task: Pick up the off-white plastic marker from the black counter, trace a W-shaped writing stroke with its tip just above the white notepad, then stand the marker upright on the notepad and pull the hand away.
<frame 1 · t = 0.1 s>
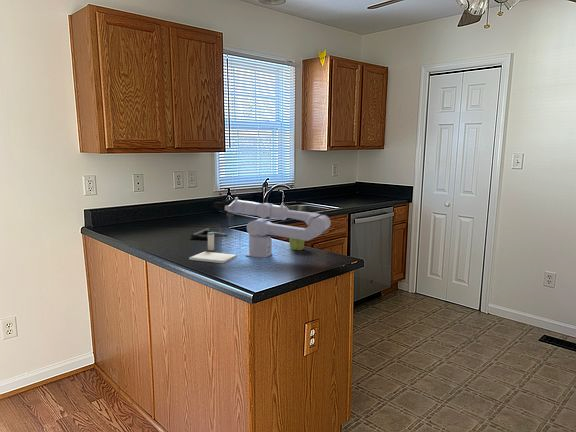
hand: (218, 203, 189), 22 cm above the worktop, tool horizontal, fingers open, 7 cm apart
door handle: (210, 237, 226), on the worktop
marker: (211, 251, 192), on the worktop
notepad: (213, 258, 180), on the worktop
plant pot: (296, 249, 198), on the worktop
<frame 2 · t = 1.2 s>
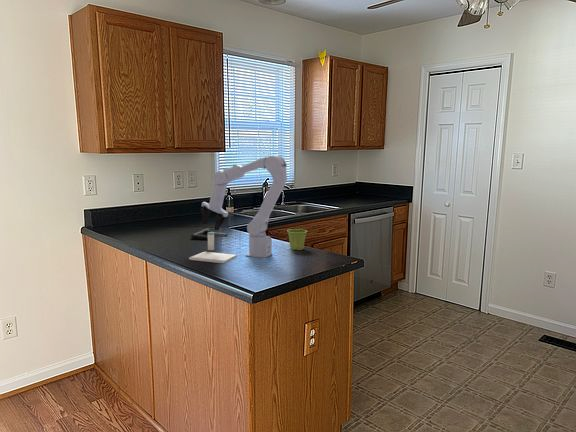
hand: (210, 226, 190), 11 cm above the worktop, tool tilted 15°, fingers open, 7 cm apart
nothing on the worktop moved.
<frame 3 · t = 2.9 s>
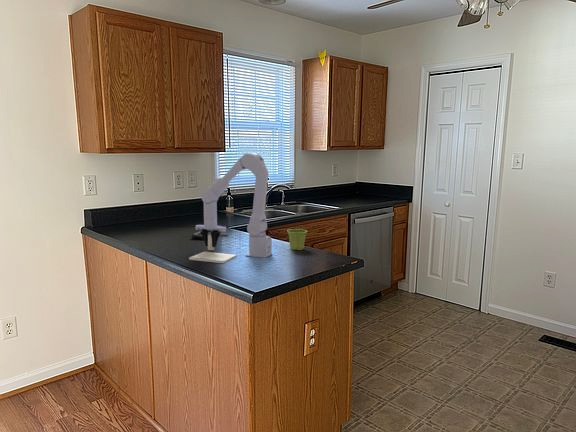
hand: (211, 246, 191), 2 cm above the worktop, tool pointing down, fingers closed on marker, 3 cm apart
marker: (211, 251, 192), on the worktop, touching gripper
everything else where it was.
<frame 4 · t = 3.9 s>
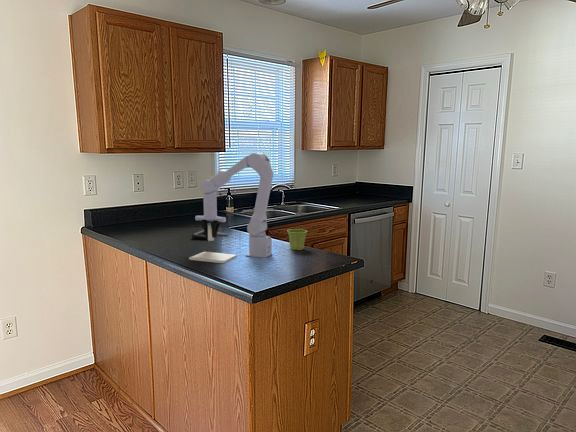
hand: (210, 237, 191), 7 cm above the worktop, tool pointing down, fingers closed on marker, 3 cm apart
marker: (211, 242, 191), point 4 cm above the worktop, touching gripper
everything else where it was.
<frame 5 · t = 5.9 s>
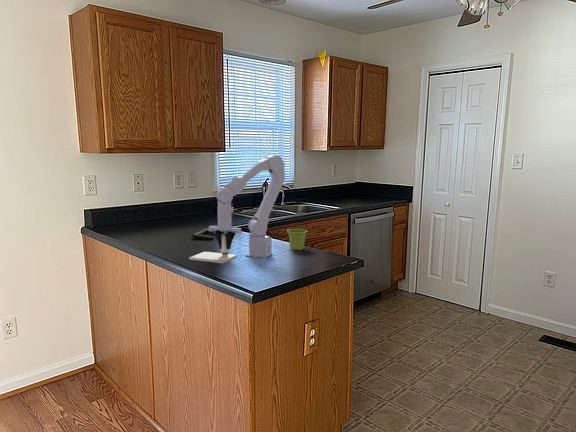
hand: (225, 248, 181), 4 cm above the worktop, tool pointing down, fingers closed on marker, 3 cm apart
marker: (225, 254, 181), point 1 cm above the worktop, touching gripper
everything else where it was.
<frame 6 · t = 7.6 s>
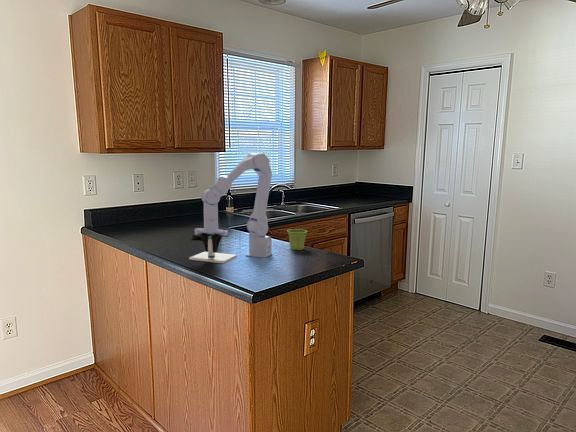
hand: (211, 251, 175), 4 cm above the worktop, tool pointing down, fingers closed on marker, 3 cm apart
marker: (211, 257, 175), point 1 cm above the worktop, touching gripper
everything else where it was.
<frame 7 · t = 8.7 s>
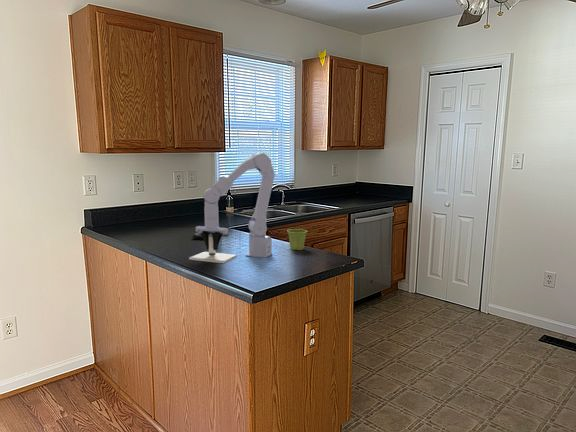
hand: (212, 249, 180), 4 cm above the worktop, tool pointing down, fingers closed on marker, 3 cm apart
marker: (212, 254, 180), point 1 cm above the worktop, touching gripper
everything else where it was.
when the fingers open (4 cm above the worktop, at t = 12.2 s): marker stays where it is, resting on notepad.
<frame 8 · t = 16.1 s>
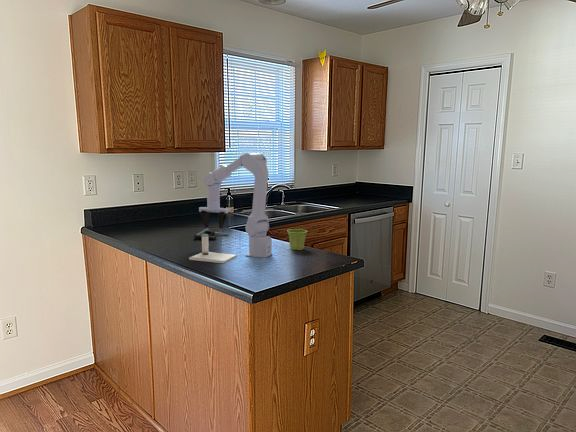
hand: (213, 227, 199), 9 cm above the worktop, tool pointing down, fingers open, 7 cm apart
marker: (205, 254, 183), point 1 cm above the worktop, touching notepad
at the end: marker inside the target area on the notepad (5.3 cm from its centre), point 0.8 cm above the notepad's base; marker tilted 0°; the gripper is holding nothing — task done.
